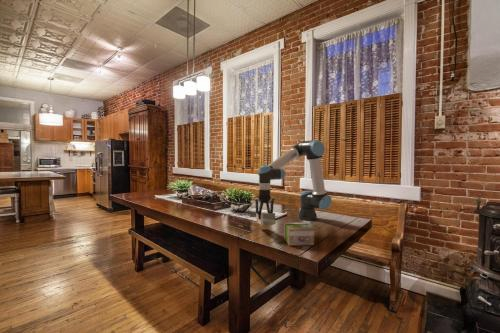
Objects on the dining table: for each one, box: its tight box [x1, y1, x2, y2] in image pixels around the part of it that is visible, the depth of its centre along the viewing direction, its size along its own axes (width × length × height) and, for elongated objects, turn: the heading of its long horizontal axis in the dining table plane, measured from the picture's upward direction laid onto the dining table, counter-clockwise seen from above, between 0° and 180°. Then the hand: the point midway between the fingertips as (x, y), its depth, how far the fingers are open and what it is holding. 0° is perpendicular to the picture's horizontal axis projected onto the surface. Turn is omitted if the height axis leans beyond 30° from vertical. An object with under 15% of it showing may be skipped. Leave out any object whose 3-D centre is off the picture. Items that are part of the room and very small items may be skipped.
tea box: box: [283, 222, 315, 247], centre depth 151 cm, size 15×10×15 cm
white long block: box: [255, 212, 276, 226], centre depth 168 cm, size 24×8×7 cm, turn 14°
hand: (264, 223), depth 167 cm, fingers closed on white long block, 4 cm apart
